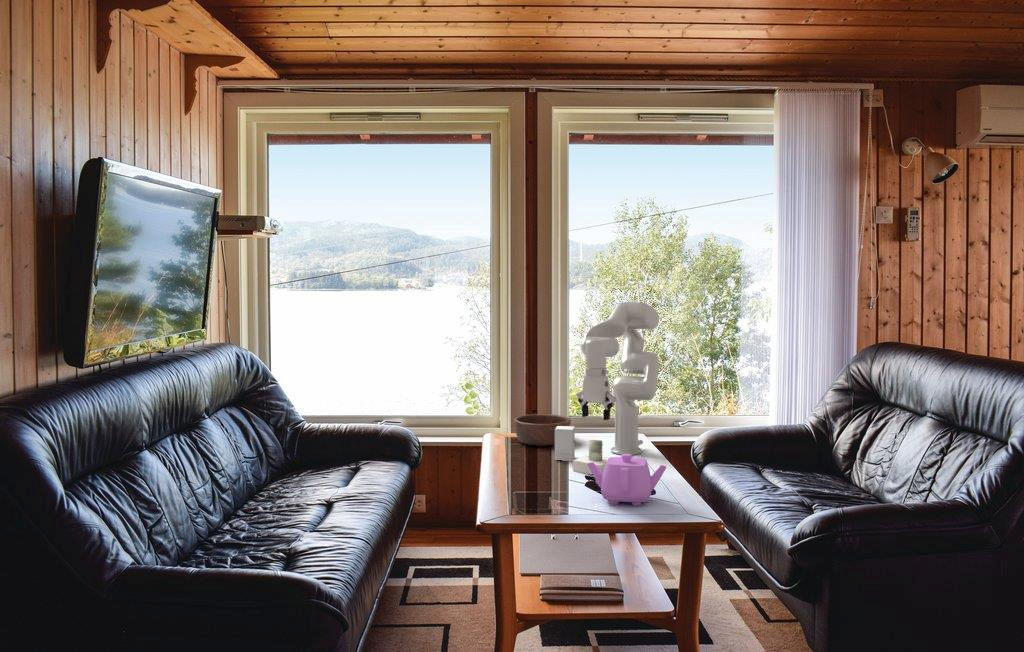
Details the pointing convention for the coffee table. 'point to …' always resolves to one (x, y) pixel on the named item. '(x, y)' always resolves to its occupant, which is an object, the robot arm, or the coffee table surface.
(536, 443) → the wooden bowl
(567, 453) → the supplement box
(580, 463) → the base
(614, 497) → the teapot
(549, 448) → the coffee table surface
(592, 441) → the green domed cylinder
